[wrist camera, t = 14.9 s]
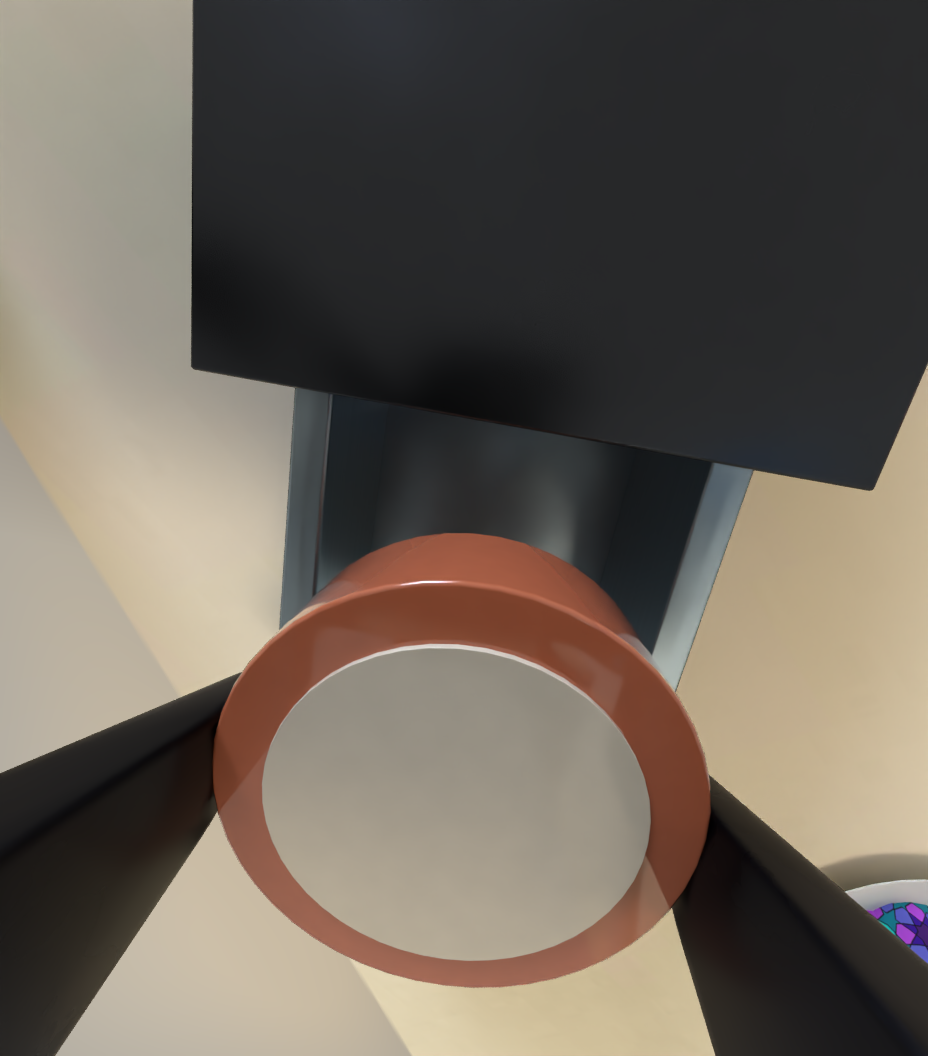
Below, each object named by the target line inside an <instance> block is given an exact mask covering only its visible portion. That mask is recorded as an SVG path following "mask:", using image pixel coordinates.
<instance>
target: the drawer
mask: <svg viewBox="0 0 928 1056" xmlns="http://www.w3.org/2000/svg"><path fill="white" fill-rule="evenodd" d="M753 471H754V470H750V469H745V468H739V467H734V466H728V465H723V464H717V463H711V462H706V461H700V460H695V459H689V458H684V457H678V456H673V455H667V454H661V453H656V452H650V451H645V450H639V449H634V448H628V447H622V446H617V445H611V444H606V443H600V442H595V441H589V440H584V439H578V438H572V437H567V436H561V435H556V434H550V433H545V432H539V431H534V430H528V429H522V428H517V427H511V426H506V425H500V424H495V423H489V422H484V421H478V420H472V419H467V418H461V417H456V416H450V415H445V414H439V413H433V412H428V411H422V410H417V409H411V408H406V407H400V406H395V405H389V404H383V403H378V402H372V401H367V400H361V399H356V398H350V397H345V396H339V395H333V394H328V393H322V392H317V391H311V390H306V389H300V388H295V397H294V413H293V428H292V443H291V459H290V474H289V489H288V504H287V520H286V535H285V550H284V566H283V581H282V596H281V611H280V627H279V630H280V629H281V628H282V627H283V626H284V625H285V624H286V623H287V622H288V621H289V620H290V619H291V618H292V617H293V616H294V615H295V614H296V613H298V612H299V611H300V610H301V609H302V608H303V607H304V606H305V605H306V604H307V603H308V602H309V601H310V600H311V599H312V598H313V597H314V596H315V595H316V594H317V593H318V592H319V591H320V590H321V589H322V588H323V587H324V586H325V585H326V584H327V583H328V582H329V581H330V580H331V579H333V578H334V577H335V576H336V575H338V574H339V573H340V572H341V571H343V570H344V569H345V568H346V567H348V566H349V565H350V564H352V563H354V562H356V561H357V560H359V559H361V558H362V557H364V556H366V555H368V554H369V553H371V552H374V551H376V550H379V549H381V548H383V547H386V546H388V545H391V544H393V543H397V542H400V541H404V540H408V539H412V538H415V537H420V536H428V535H435V534H443V533H474V534H482V535H490V536H498V537H502V538H506V539H510V540H514V541H518V542H522V543H525V544H528V545H531V546H533V547H536V548H538V549H541V550H543V551H546V552H548V553H551V554H552V555H554V556H556V557H558V558H560V559H561V560H563V561H565V562H567V563H569V564H570V565H572V566H574V567H575V568H577V569H578V570H579V571H581V572H582V573H583V574H585V575H586V576H587V577H589V578H590V579H592V580H593V581H594V582H595V583H596V584H597V585H598V586H599V587H600V588H602V589H603V590H604V591H605V592H606V593H607V594H608V595H609V596H610V597H611V598H612V599H613V600H614V602H615V603H616V604H617V606H618V607H619V608H620V609H621V611H622V612H623V613H624V615H625V616H626V617H627V618H628V620H629V621H630V623H631V625H632V626H633V628H634V629H635V631H636V632H637V634H638V635H639V637H640V638H641V640H642V642H643V643H644V645H645V646H646V648H647V649H648V651H649V652H650V654H651V655H652V657H653V659H654V660H655V662H656V663H657V665H658V666H659V668H660V669H661V671H662V672H663V674H664V676H665V677H666V679H667V680H668V682H669V683H670V685H671V686H672V688H673V689H674V691H675V692H676V690H677V687H678V684H679V681H680V678H681V675H682V672H683V670H684V667H685V664H686V661H687V658H688V655H689V653H690V650H691V647H692V644H693V641H694V638H695V636H696V633H697V630H698V627H699V624H700V621H701V618H702V616H703V613H704V610H705V607H706V604H707V601H708V599H709V596H710V593H711V590H712V587H713V584H714V582H715V579H716V576H717V573H718V570H719V567H720V564H721V562H722V559H723V556H724V553H725V550H726V547H727V545H728V542H729V539H730V536H731V533H732V530H733V528H734V525H735V522H736V519H737V516H738V513H739V510H740V508H741V505H742V502H743V499H744V496H745V493H746V491H747V488H748V485H749V482H750V479H751V476H752V474H753Z"/></svg>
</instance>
